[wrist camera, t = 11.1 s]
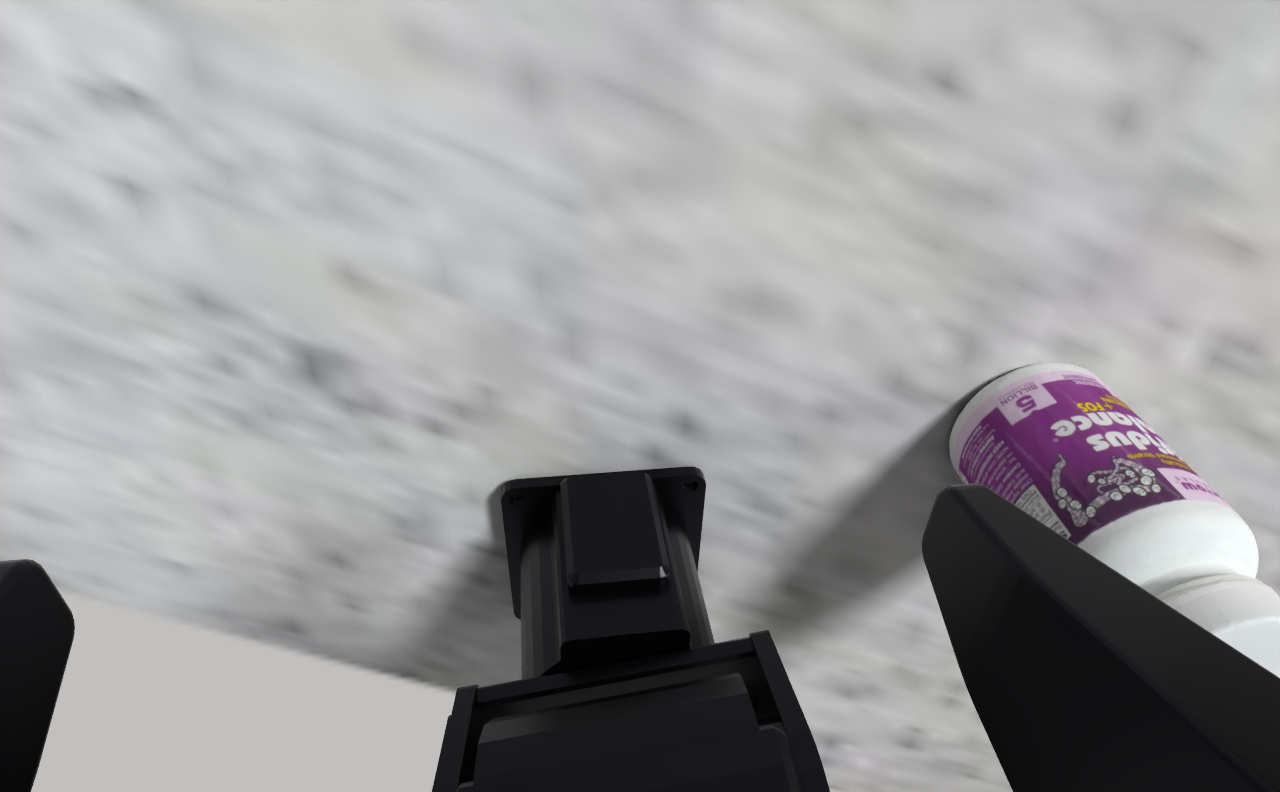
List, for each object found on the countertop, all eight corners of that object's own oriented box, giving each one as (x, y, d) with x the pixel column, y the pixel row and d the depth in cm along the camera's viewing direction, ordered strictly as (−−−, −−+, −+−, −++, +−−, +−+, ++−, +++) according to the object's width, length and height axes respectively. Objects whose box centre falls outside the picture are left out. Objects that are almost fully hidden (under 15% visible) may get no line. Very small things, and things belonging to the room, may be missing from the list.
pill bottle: (1120, 343, 25) (1392, 583, 17) (1077, 467, 28) (1289, 715, 20) (955, 368, 25) (1156, 622, 17) (930, 490, 28) (1091, 751, 20)
